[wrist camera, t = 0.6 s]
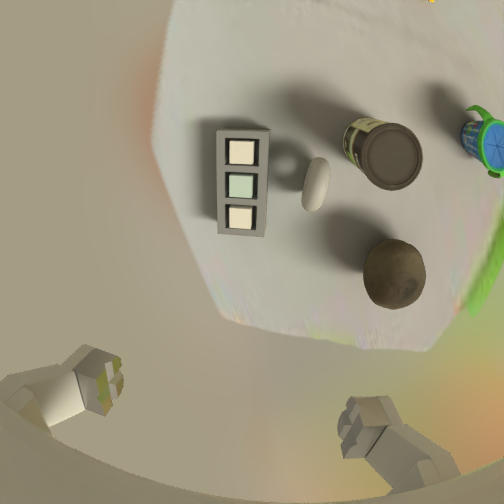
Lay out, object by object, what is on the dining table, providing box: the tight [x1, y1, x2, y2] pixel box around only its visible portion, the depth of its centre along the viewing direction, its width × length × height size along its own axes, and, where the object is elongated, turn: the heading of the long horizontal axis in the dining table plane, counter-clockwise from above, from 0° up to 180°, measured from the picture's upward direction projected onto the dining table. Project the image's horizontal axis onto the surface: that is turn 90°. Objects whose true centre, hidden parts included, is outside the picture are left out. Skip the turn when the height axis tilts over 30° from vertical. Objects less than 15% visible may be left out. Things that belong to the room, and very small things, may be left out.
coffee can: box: [343, 118, 423, 191], centre depth 41 cm, size 10×10×14 cm
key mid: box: [229, 173, 253, 198], centre depth 50 cm, size 4×4×2 cm
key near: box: [230, 140, 254, 164], centre depth 47 cm, size 4×4×2 cm
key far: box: [229, 204, 252, 229], centre depth 53 cm, size 4×4×2 cm
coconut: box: [363, 239, 426, 310], centre depth 52 cm, size 14×14×15 cm
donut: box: [301, 157, 330, 212], centre depth 48 cm, size 10×3×10 cm, turn 170°
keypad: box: [216, 128, 270, 237], centre depth 52 cm, size 20×9×5 cm, turn 179°
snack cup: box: [461, 105, 504, 178], centre depth 37 cm, size 16×10×10 cm
